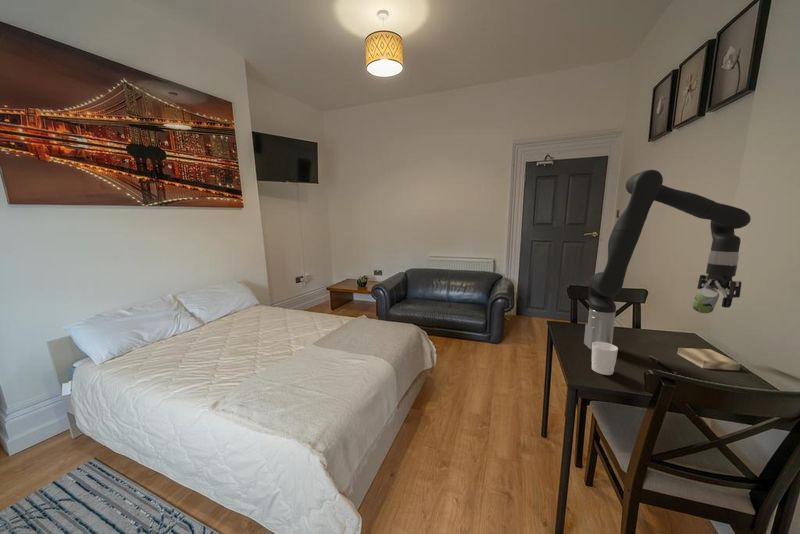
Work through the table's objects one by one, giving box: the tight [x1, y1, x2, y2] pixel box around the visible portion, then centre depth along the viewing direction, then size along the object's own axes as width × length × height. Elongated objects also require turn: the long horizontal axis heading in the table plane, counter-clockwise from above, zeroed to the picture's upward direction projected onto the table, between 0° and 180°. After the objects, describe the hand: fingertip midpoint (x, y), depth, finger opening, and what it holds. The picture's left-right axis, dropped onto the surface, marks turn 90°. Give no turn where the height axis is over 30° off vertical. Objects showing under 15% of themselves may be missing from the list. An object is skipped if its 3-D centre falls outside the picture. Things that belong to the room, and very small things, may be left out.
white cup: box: [591, 342, 619, 376], centre depth 106 cm, size 8×8×10 cm
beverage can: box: [692, 287, 720, 314], centre depth 114 cm, size 6×7×12 cm
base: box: [676, 347, 741, 371], centre depth 112 cm, size 12×12×3 cm
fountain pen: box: [647, 355, 678, 375], centre depth 110 cm, size 14×1×2 cm, turn 174°
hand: (715, 304), depth 109 cm, fingers open, 8 cm apart
